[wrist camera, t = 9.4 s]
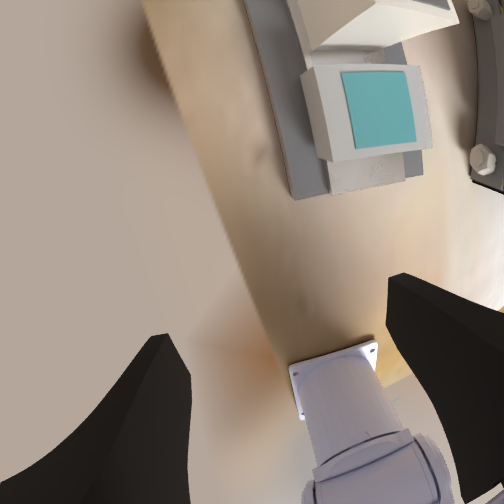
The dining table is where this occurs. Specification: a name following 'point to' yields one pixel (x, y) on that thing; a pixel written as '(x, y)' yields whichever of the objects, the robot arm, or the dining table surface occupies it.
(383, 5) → the block
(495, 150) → the electrical component
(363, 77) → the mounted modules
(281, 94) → the plate
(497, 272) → the dining table surface
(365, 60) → the din rail
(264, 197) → the dining table surface
